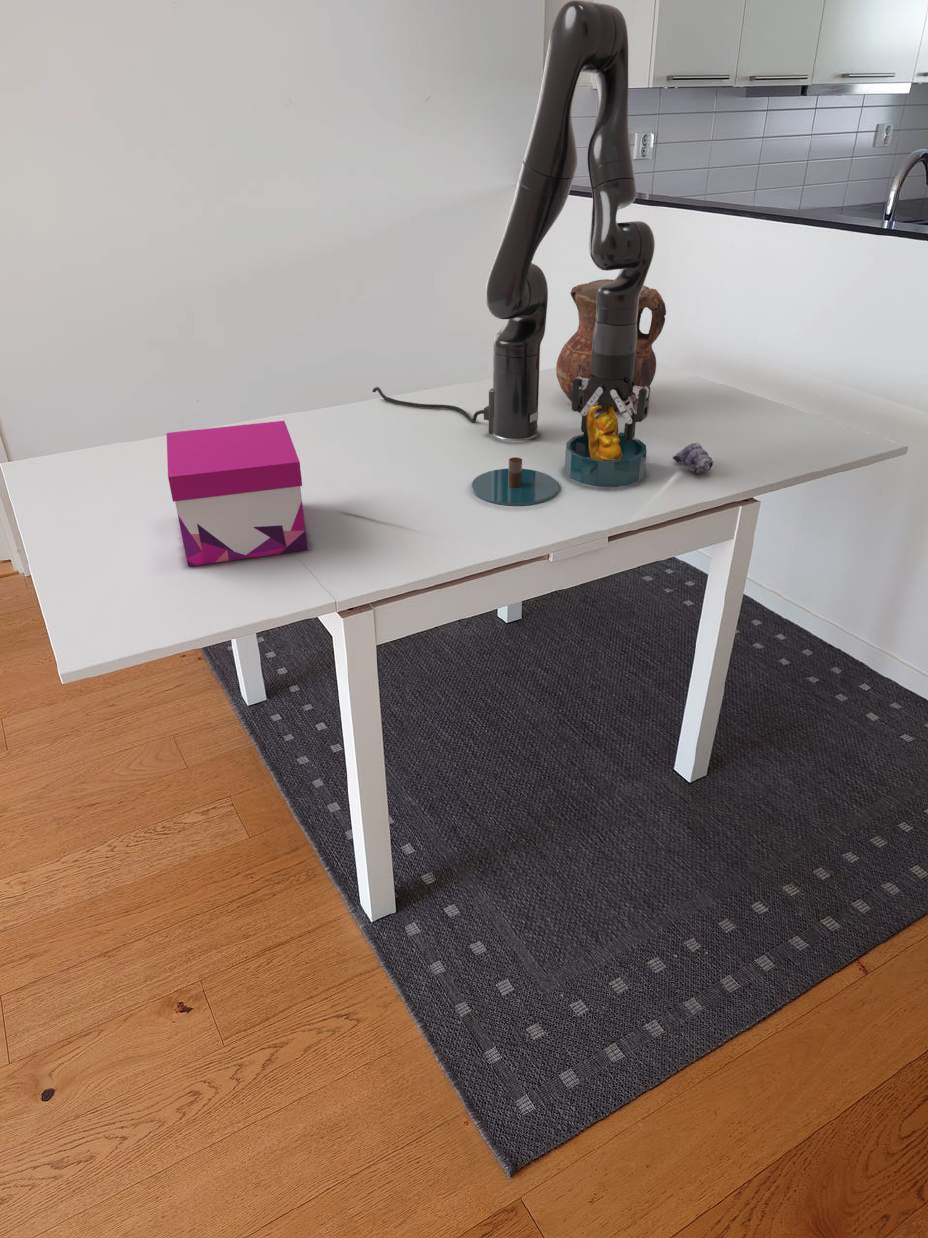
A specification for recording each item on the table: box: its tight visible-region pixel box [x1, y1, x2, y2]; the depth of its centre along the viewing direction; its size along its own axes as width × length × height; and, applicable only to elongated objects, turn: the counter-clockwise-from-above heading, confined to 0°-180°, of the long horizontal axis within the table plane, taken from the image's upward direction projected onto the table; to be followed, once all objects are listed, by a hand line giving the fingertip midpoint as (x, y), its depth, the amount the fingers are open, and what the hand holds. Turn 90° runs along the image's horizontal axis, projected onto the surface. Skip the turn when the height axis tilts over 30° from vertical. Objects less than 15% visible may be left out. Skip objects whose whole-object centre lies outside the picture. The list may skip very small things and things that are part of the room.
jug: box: [555, 278, 667, 413], centre depth 194 cm, size 22×21×25 cm
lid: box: [471, 456, 559, 507], centre depth 158 cm, size 16×16×6 cm
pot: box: [564, 431, 648, 488], centre depth 164 cm, size 15×20×5 cm
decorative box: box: [166, 420, 308, 567], centre depth 142 cm, size 19×19×15 cm
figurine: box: [586, 405, 622, 460], centre depth 163 cm, size 6×7×13 cm
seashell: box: [672, 442, 714, 474], centre depth 166 cm, size 5×5×10 cm
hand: (606, 438), depth 162 cm, fingers open, 7 cm apart
